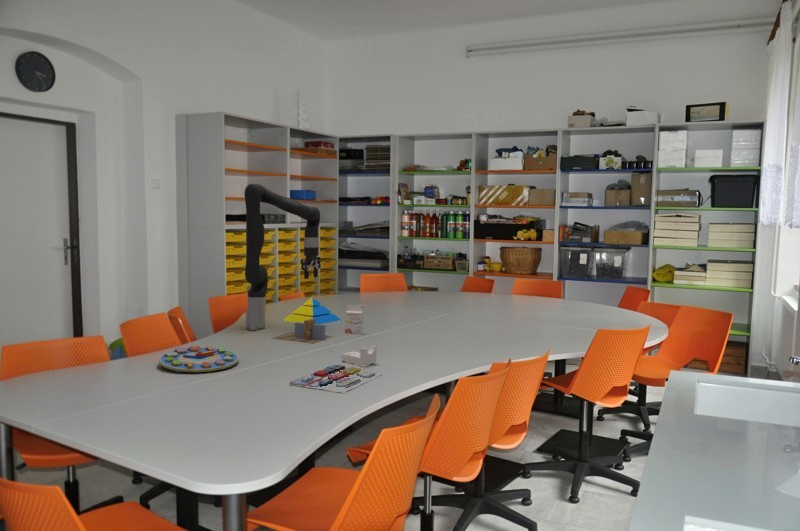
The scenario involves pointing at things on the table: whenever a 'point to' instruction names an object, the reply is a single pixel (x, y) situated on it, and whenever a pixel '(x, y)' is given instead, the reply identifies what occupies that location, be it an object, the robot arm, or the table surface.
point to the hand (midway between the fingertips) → (311, 277)
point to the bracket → (361, 356)
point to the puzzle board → (333, 377)
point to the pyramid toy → (312, 313)
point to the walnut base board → (298, 338)
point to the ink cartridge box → (354, 320)
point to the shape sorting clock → (198, 359)
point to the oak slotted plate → (308, 327)
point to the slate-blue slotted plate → (316, 332)
